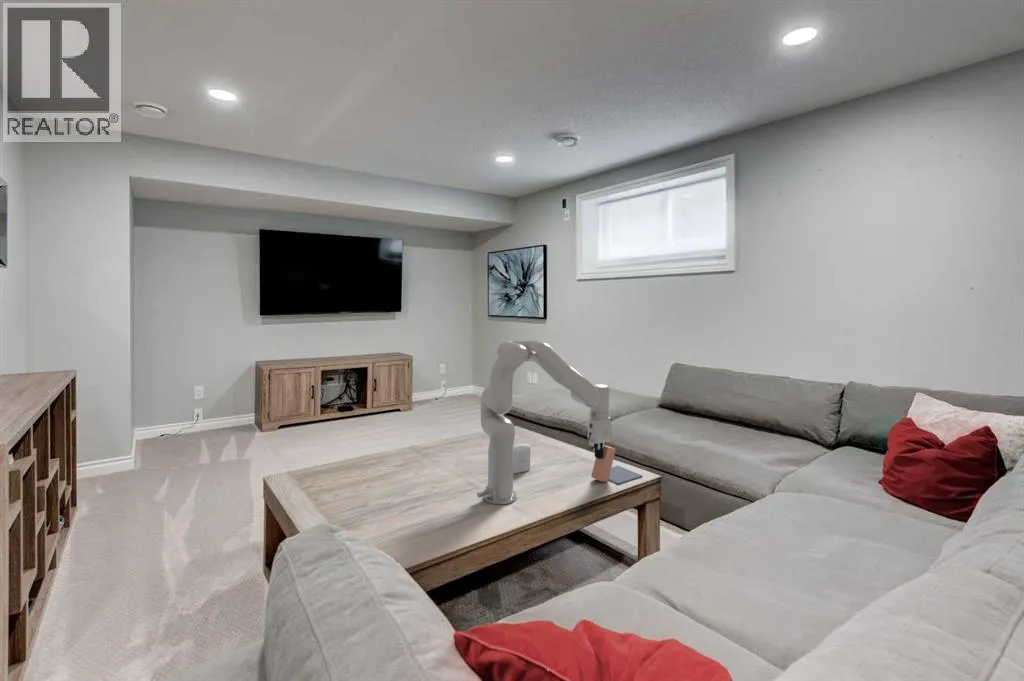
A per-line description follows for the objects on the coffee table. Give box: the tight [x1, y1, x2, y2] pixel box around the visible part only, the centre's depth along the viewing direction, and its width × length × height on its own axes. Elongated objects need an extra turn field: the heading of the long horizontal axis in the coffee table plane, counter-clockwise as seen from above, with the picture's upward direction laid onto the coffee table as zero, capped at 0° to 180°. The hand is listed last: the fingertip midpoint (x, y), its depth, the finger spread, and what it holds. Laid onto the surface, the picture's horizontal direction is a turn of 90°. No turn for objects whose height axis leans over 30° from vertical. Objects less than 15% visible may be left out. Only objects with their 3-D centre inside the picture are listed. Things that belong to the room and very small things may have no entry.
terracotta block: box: [590, 445, 617, 483], centre depth 201 cm, size 5×5×14 cm
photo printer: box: [513, 442, 531, 475], centre depth 210 cm, size 10×4×12 cm, turn 123°
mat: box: [608, 465, 643, 485], centre depth 207 cm, size 15×14×1 cm
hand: (598, 457), depth 199 cm, fingers closed
